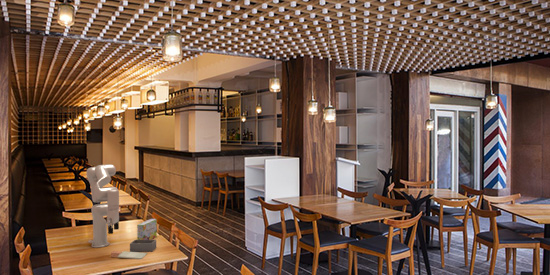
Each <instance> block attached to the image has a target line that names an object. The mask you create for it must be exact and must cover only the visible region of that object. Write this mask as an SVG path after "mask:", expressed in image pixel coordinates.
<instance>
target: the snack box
mask: <svg viewBox="0 0 550 275" xmlns="http://www.w3.org/2000/svg"><path fill="white" fill-rule="evenodd" d="M157 221H158V220H157V218H150V219H147V220H145V221H143V222H140V223H138V224H137V227H136V228H137V229H136V232H137V233H136V236H137V237H136V238H137V239H136V240H155V238H157V236H158V235H157V234H158V233H157V231H158V230H157V228H158V227H157V224H158V223H157Z"/></svg>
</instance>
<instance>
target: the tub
mask: <svg viewBox="0 0 550 275" xmlns="http://www.w3.org/2000/svg"><path fill="white" fill-rule="evenodd" d="M156 249H157V239H152V240H137V239H134V240H132V242H130V243H129V252H139V253H152V252H154V251H155V250H156Z"/></svg>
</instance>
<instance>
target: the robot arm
mask: <svg viewBox="0 0 550 275" xmlns="http://www.w3.org/2000/svg"><path fill="white" fill-rule="evenodd" d="M116 172H117V169H116V166H115V165H114V164H98V165H96V166H92V167H88V168H87V169H86V178H87V181H88V182H89V185H90V186H89V187H90V192H91V199H92V202H93V203H97V204H93V205H92V207H91V216H92V232H93V234H92V236H93V239H88V243H89V244H91V247H92V248H104V247H107V246H110V241H108V235H113V234H114V230H116V231H117V230H119V228H120V227H119V226H120V222H119V221H120V212H119V210H120V190H119V189H118V188H117V187H116V186H111V187H110V186H109V187H105V186H107V185H108V184H109V183H111V181H112V178H111V177H113V176H115V174H116ZM104 217H106V219H105V218H104Z"/></svg>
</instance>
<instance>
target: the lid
mask: <svg viewBox="0 0 550 275" xmlns="http://www.w3.org/2000/svg"><path fill="white" fill-rule="evenodd" d="M147 255H148V252H130V251H125V250H124V251H121V250H120V251H119V250H113V251H112V252H110V257H111V258H124V259H135V260H143V259H144V258H145V256H147Z"/></svg>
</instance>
